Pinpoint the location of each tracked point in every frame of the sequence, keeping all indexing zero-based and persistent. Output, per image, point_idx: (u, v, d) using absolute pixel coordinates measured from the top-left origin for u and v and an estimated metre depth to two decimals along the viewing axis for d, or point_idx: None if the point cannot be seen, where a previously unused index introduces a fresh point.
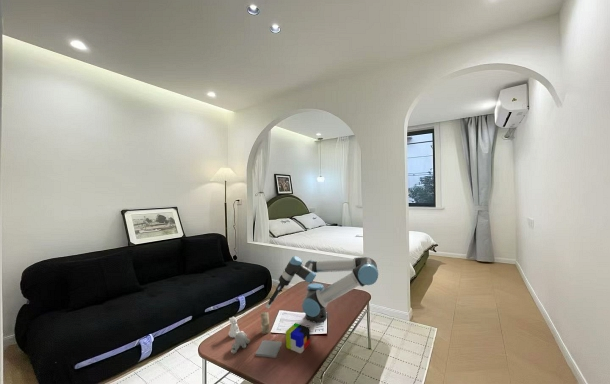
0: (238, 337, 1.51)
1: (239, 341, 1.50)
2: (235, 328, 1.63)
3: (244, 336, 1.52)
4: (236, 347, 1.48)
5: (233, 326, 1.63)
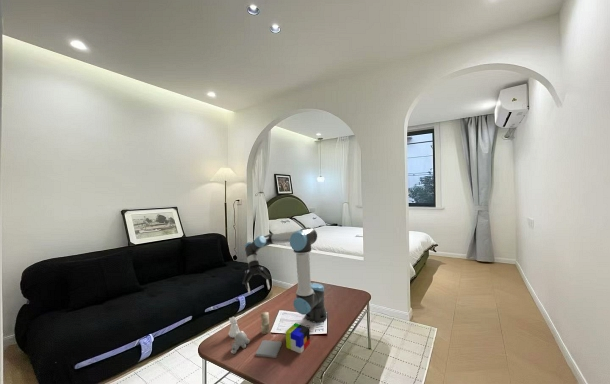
0: (238, 337, 1.51)
1: (239, 341, 1.50)
2: (235, 328, 1.63)
3: (244, 336, 1.52)
4: (236, 347, 1.48)
5: (233, 326, 1.63)
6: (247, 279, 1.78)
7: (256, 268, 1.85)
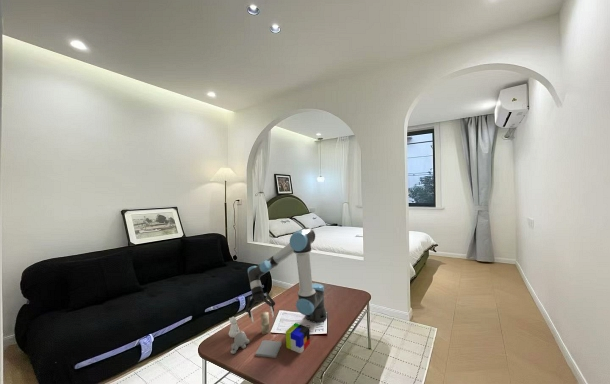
0: (238, 337, 1.50)
1: (239, 342, 1.50)
2: (235, 328, 1.63)
3: (244, 336, 1.52)
4: (236, 347, 1.48)
5: (233, 326, 1.63)
6: (250, 307, 1.71)
7: (259, 294, 1.78)
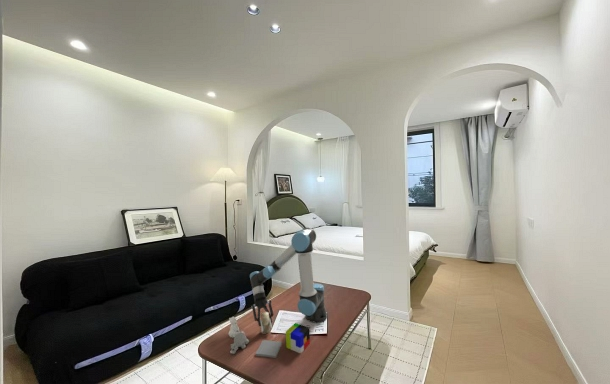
0: (237, 338, 1.50)
1: (238, 342, 1.49)
2: (235, 328, 1.63)
3: (243, 337, 1.51)
4: (235, 348, 1.48)
5: (233, 326, 1.63)
6: (258, 315, 1.68)
7: (262, 299, 1.75)
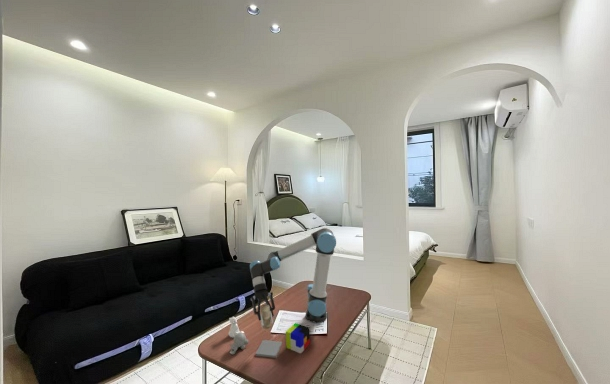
0: (237, 338, 1.50)
1: (238, 342, 1.49)
2: (235, 328, 1.63)
3: (243, 337, 1.51)
4: (235, 348, 1.47)
5: (233, 326, 1.63)
6: (258, 308, 1.51)
7: (263, 291, 1.59)
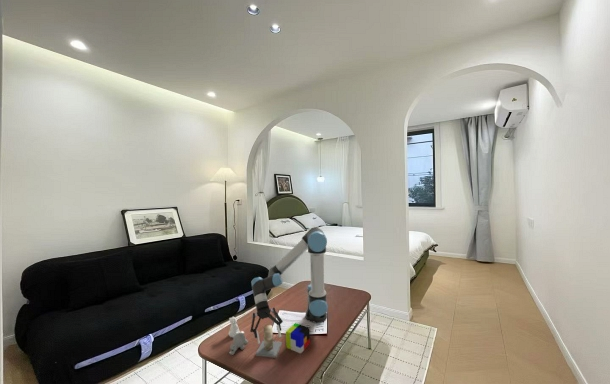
0: (236, 338, 1.50)
1: (237, 342, 1.49)
2: (235, 328, 1.63)
3: (242, 337, 1.51)
4: (234, 348, 1.47)
5: (233, 326, 1.63)
6: (256, 326, 1.50)
7: (265, 310, 1.57)
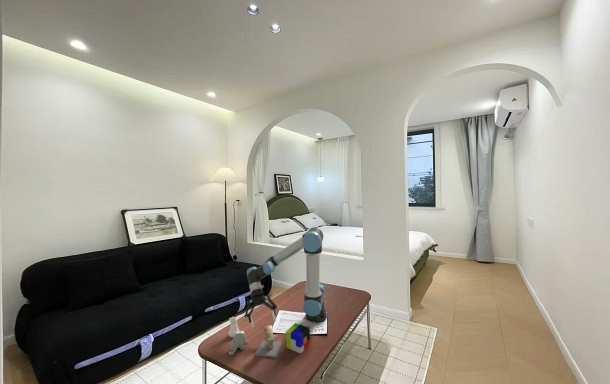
0: (236, 338, 1.50)
1: (237, 343, 1.49)
2: (235, 328, 1.63)
3: (242, 337, 1.51)
4: (234, 349, 1.47)
5: (233, 326, 1.63)
6: (250, 311, 1.59)
7: (260, 297, 1.66)
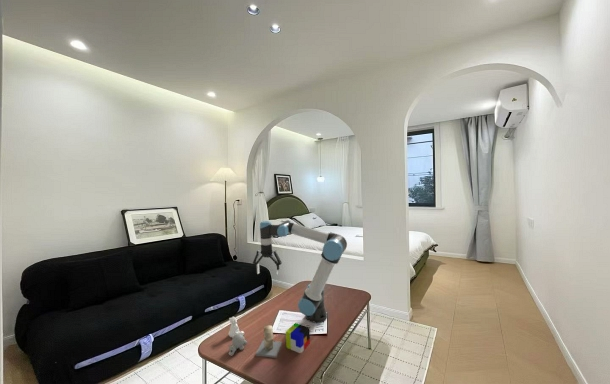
0: (235, 339, 1.49)
1: (237, 343, 1.48)
2: (235, 328, 1.63)
3: (242, 338, 1.51)
4: (234, 349, 1.47)
5: (233, 326, 1.63)
6: (257, 261, 1.79)
7: (267, 252, 1.77)
